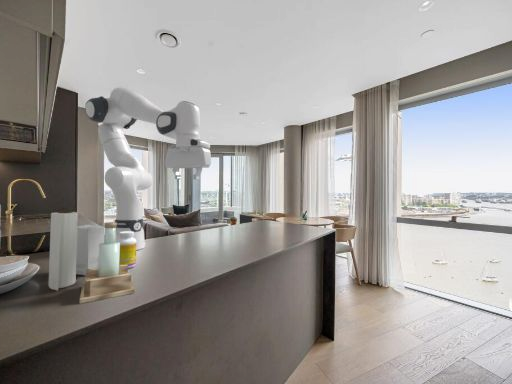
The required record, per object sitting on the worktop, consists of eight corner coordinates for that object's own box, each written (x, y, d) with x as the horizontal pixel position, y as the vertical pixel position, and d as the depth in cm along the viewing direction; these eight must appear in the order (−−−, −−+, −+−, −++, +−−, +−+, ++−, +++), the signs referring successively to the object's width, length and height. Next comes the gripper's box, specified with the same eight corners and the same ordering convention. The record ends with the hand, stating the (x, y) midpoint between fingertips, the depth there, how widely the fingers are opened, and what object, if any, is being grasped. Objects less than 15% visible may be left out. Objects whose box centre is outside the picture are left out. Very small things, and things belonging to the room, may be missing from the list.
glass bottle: (93, 287, 64) (96, 222, 64) (111, 281, 69) (113, 221, 69) (104, 290, 62) (106, 224, 62) (122, 284, 66) (124, 222, 67)
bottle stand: (129, 278, 73) (130, 263, 73) (134, 293, 64) (134, 274, 64) (82, 286, 67) (83, 269, 67) (79, 303, 57) (80, 283, 57)
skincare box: (104, 270, 80) (106, 225, 80) (86, 276, 74) (88, 228, 74) (86, 267, 83) (88, 224, 83) (67, 273, 76) (68, 226, 76)
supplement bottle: (138, 267, 85) (139, 232, 85) (118, 271, 80) (119, 234, 80) (132, 263, 89) (133, 230, 90) (112, 266, 85) (114, 231, 85)
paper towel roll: (62, 280, 71) (65, 210, 71) (80, 281, 70) (83, 211, 70) (38, 290, 63) (40, 212, 64) (58, 291, 63) (60, 213, 63)
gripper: (162, 144, 91) (161, 178, 91) (203, 140, 82) (202, 179, 82) (174, 147, 97) (173, 180, 97) (213, 144, 88) (212, 180, 88)
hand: (186, 179), depth 90 cm, fingers open, 8 cm apart
